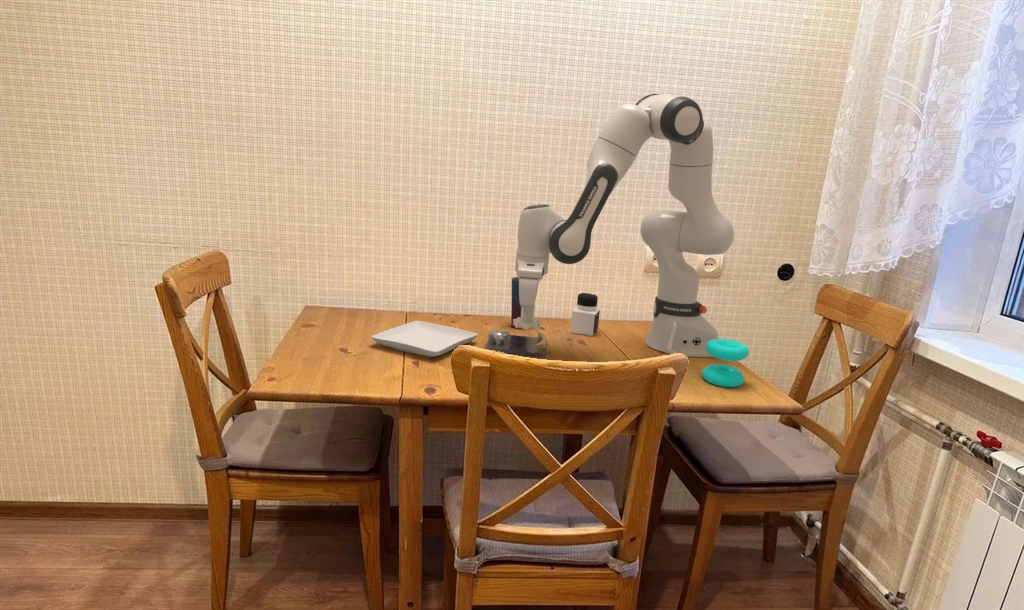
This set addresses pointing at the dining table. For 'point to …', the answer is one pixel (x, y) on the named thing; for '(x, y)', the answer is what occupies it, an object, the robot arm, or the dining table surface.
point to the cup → (515, 301)
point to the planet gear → (527, 321)
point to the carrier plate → (516, 343)
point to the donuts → (725, 373)
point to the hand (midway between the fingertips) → (527, 315)
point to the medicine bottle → (585, 315)
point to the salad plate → (424, 338)
